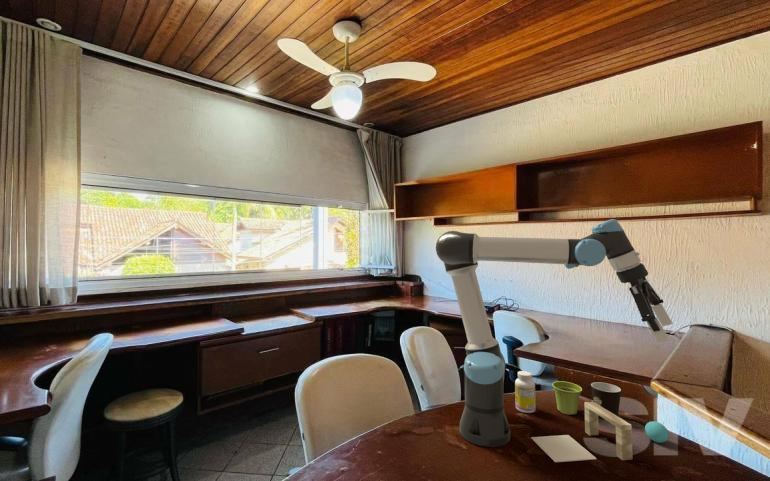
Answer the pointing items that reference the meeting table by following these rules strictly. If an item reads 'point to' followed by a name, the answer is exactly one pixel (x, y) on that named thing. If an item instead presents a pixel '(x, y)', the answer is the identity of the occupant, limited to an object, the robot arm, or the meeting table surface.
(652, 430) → the ball
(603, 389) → the coffee mug
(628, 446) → the bridge
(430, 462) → the meeting table surface
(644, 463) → the meeting table surface
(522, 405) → the supplement bottle
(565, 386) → the plant pot
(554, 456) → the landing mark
